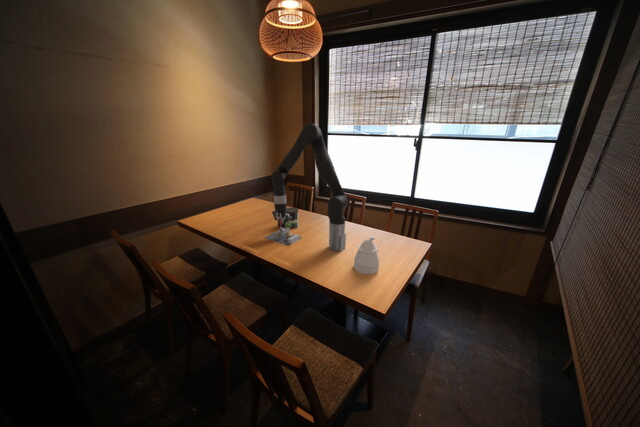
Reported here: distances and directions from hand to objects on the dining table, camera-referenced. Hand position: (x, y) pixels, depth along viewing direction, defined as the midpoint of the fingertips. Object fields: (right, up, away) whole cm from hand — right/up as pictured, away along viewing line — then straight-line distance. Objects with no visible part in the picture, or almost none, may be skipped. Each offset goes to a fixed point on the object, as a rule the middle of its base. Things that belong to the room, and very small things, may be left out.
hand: (281, 227), depth 160 cm
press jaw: (0, -7, +2) cm, 7 cm away
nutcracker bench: (0, -8, +3) cm, 9 cm away
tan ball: (+5, -5, -1) cm, 7 cm away
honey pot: (+49, -20, -27) cm, 60 cm away
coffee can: (+4, -2, +21) cm, 21 cm away
